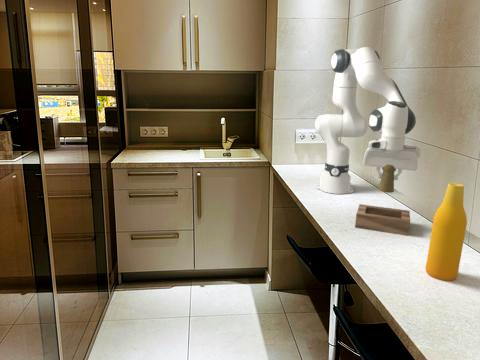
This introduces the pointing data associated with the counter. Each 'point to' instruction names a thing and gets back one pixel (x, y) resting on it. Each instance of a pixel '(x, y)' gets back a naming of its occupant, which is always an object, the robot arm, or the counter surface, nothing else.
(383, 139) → the robot arm
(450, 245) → the beer bottle
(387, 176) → the cork
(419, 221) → the counter surface
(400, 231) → the well block
